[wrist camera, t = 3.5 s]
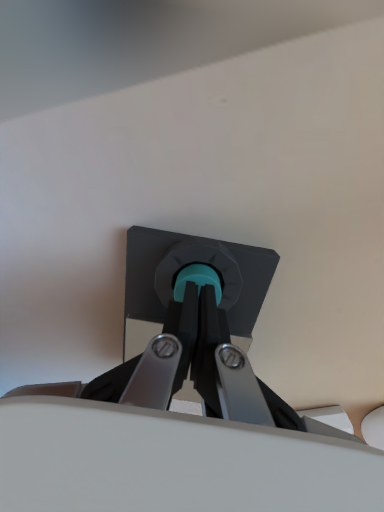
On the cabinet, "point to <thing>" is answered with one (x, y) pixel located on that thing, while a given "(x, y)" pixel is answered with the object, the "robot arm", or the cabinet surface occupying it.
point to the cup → (374, 428)
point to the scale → (187, 253)
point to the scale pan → (148, 327)
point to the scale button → (197, 280)
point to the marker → (330, 417)
